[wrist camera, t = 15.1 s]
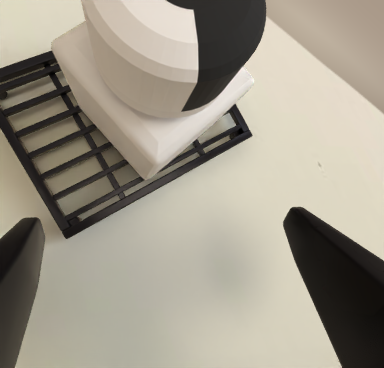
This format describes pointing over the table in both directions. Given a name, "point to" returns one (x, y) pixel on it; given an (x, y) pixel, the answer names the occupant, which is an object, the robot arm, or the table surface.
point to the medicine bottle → (159, 70)
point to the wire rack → (72, 221)
